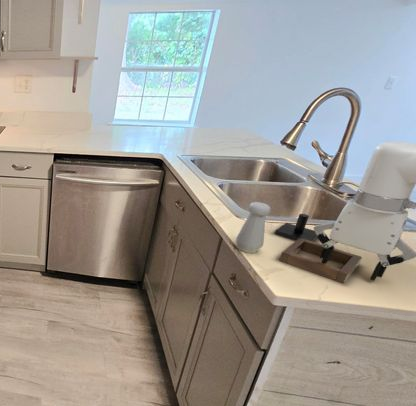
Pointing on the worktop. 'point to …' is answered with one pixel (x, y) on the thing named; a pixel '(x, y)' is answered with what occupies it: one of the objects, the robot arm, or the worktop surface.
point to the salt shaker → (253, 228)
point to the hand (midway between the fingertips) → (348, 269)
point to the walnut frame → (317, 267)
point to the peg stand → (297, 230)
